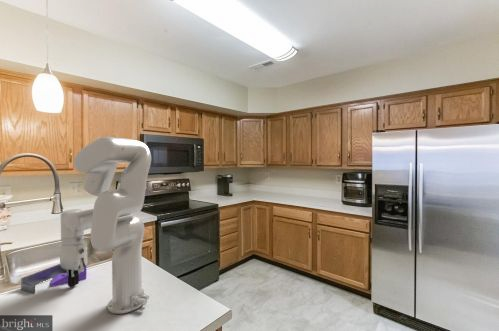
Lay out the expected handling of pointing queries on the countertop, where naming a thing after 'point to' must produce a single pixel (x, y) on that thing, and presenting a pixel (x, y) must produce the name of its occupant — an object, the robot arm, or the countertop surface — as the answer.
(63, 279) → the bracket
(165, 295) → the countertop surface
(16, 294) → the countertop surface
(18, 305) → the countertop surface
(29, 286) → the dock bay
